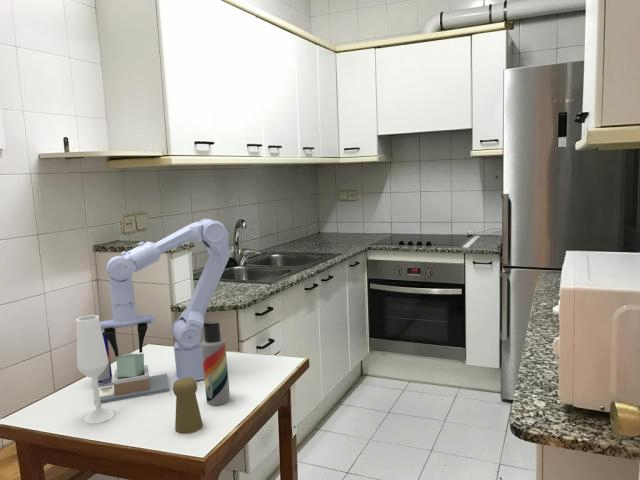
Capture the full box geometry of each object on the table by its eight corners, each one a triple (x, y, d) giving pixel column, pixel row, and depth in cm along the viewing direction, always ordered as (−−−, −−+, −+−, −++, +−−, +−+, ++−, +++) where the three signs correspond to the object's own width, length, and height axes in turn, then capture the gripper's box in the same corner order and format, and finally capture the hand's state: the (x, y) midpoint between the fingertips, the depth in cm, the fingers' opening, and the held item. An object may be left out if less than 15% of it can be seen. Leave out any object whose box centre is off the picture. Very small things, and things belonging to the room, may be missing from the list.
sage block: (144, 372, 143) (143, 353, 143) (135, 376, 138) (134, 357, 139) (126, 372, 144) (125, 353, 144) (117, 376, 139) (116, 357, 139)
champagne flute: (100, 408, 132) (88, 313, 128) (120, 412, 129) (109, 315, 125) (77, 420, 126) (64, 321, 122) (98, 425, 123) (85, 323, 119)
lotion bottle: (202, 404, 131) (194, 324, 128) (214, 394, 136) (207, 317, 133) (222, 406, 129) (215, 325, 126) (234, 396, 134) (227, 318, 131)
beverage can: (105, 386, 145) (99, 332, 143) (88, 386, 146) (82, 332, 144) (116, 379, 150) (110, 327, 148) (99, 378, 151) (93, 327, 149)
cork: (177, 422, 122) (172, 375, 121) (204, 419, 123) (200, 373, 121) (172, 435, 116) (167, 386, 115) (201, 432, 117) (196, 384, 115)
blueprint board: (167, 376, 150) (165, 360, 149) (169, 391, 140) (167, 374, 139) (97, 388, 144) (95, 371, 144) (94, 404, 134) (92, 386, 133)
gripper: (152, 295, 145) (157, 344, 147) (94, 303, 140) (100, 353, 142) (153, 301, 138) (158, 352, 140) (92, 309, 134) (98, 361, 136)
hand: (129, 353), depth 141 cm, fingers open, 5 cm apart
